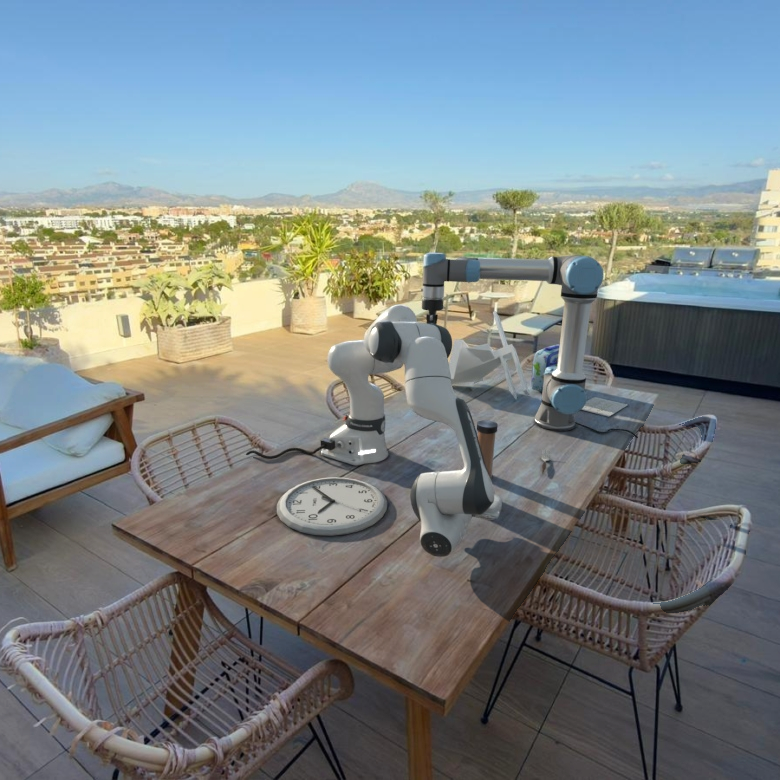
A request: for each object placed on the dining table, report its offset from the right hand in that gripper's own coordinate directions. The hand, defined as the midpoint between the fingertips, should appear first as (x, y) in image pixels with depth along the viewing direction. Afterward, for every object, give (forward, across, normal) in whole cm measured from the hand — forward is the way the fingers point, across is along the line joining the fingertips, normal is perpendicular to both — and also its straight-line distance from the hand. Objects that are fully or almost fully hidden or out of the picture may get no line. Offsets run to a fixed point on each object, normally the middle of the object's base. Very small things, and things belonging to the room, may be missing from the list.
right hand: (430, 357), depth 190 cm
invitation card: (+28, -38, +73) cm, 87 cm away
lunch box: (+28, -61, +56) cm, 88 cm away
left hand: (+21, +57, +14) cm, 63 cm away
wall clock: (+28, +61, -23) cm, 71 cm away
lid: (+11, +36, +19) cm, 43 cm away
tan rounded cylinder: (+28, +36, +19) cm, 50 cm away
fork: (+28, +26, +39) cm, 55 cm away
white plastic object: (+28, -50, +22) cm, 61 cm away
